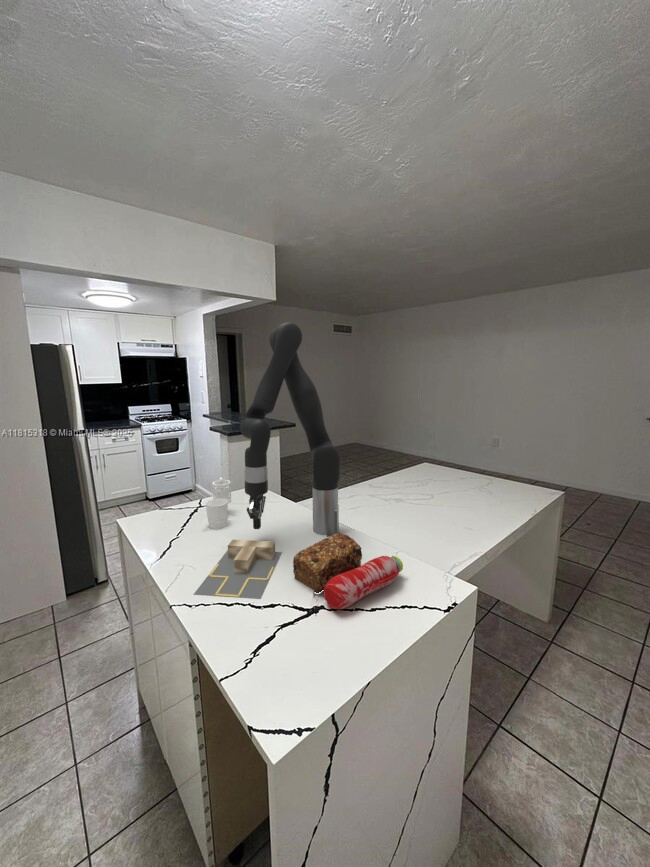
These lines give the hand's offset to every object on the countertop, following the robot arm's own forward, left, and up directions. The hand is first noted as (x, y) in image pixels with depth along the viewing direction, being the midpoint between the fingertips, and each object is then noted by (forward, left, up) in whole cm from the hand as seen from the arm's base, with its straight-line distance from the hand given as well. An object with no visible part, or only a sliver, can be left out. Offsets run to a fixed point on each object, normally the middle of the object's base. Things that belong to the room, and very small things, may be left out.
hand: (257, 528), depth 119 cm
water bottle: (-36, +21, -7) cm, 42 cm away
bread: (-26, +15, -7) cm, 31 cm away
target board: (-1, +17, -6) cm, 18 cm away
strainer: (+22, -25, -7) cm, 34 cm away
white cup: (+19, -13, -7) cm, 24 cm away
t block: (-1, +12, -5) cm, 13 cm away
